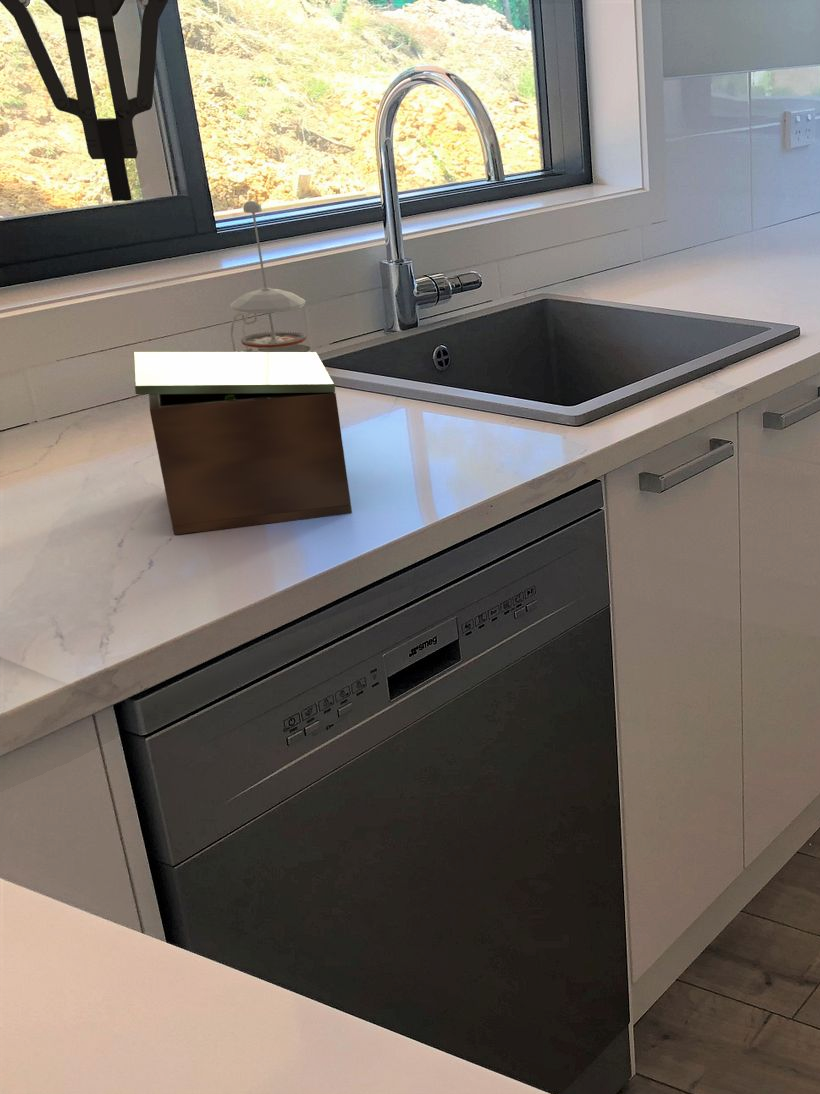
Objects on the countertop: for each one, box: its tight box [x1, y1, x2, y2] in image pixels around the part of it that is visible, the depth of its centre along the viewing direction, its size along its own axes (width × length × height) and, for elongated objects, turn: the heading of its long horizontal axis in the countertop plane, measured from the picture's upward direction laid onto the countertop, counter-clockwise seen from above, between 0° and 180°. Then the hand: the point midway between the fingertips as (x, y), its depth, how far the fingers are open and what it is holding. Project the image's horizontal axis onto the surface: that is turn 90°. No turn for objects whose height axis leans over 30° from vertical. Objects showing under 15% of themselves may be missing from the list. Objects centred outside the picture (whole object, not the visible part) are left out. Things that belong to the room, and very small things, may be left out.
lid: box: [133, 351, 336, 395], centre depth 132 cm, size 17×15×1 cm
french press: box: [230, 200, 312, 352], centre depth 161 cm, size 10×12×25 cm
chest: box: [148, 391, 353, 536], centre depth 136 cm, size 16×15×12 cm
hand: (122, 198), depth 121 cm, fingers closed
